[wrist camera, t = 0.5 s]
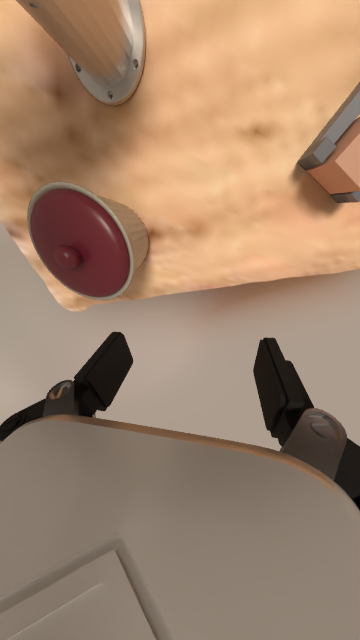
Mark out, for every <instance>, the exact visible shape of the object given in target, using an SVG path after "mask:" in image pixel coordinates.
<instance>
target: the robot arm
mask: <svg viewBox="0 0 360 640" xmlns="http://www.w3.org/2000/svg"><path fill="white" fill-rule="evenodd" d="M16 1H17V2H18V3H19V4H20V5H21V6H22V7H23V8H24V9H25V10H26V11H27V12H28V13H29V14H30V15H31V16H32V17H33V18H34V19H35V21H36V22H37V23H38V24H39V25H40V26H41V27H42V28H43V29H44V30H45V31H46V32H47V33H48V34H49V35H50V36H51V37H52V38H53V39H54V40H55V41H56V42H57V43H58V44H59V45H60V46H61V47H62V48H63V50H64V51H65V52H66V53H67V54H68V56H69V59H70V61H71V64H72V66H73V69H74V71H75V73H76V74H77V76H78V78H79V80H80V81H81V83H82V84H83V85H84V87H85V88H86V89H87V90H88V91H89V92H90V93H91V94H92V95H93V96H94V97H95V98H96V99H97V100H99V101H100V102H102V103H104V104H107V105H112V106H113V105H119V104H122V103H124V102H125V101H127V100H128V99H129V98H130V97H131V96H132V94H133V93H134V91H135V90H136V88H137V86H138V83H139V81H140V78H141V75H142V71H143V66H144V60H145V48H146V36H145V23H144V16H143V10H142V6H141V2H140V0H16ZM137 66H138V68H137V69H136V67H137ZM112 96H113V98H112ZM132 364H133V358H132V355H131V353H130V350H129V347H128V345H127V342H126V339H125V337H124V335H123V334H122V333H121V332H112V333H111V334H110V335H109V336H108V338H107V339H106V340H105V341H104V342H103V344H102V345H101V346H100V347H99V348H98V349H97V351H96V352H95V353H94V354H93V355H92V357H91V358H90V359H89V360H88V362H86V364H85V365H84V366H83V367H82V369H81V370H80V371H79V372H78V373H77V374H76V375H75V377H74V379H75V380H74V381H72V380H65V381H61V382H59V383H58V384H56V385H55V386H54V387H52V388H51V389H50V390H49V392H48V393H47V396H46V399H43V400H41V401H39V402H37V403H35V404H33V405H31V406H29V407H27V408H25V409H24V410H22V411H19V412H18V413H15V414H14V415H12V416H11V417H9V418H8V419H7V420H5V421H4V422H3V424H1V426H0V640H360V447H359V446H358V445H356V444H355V443H354V442H352V441H351V440H349V439H348V438H347V434H346V431H345V429H344V427H343V426H342V425H341V423H340V422H339V421H338V420H337V419H336V418H335V417H333V416H332V415H331V414H329V413H327V412H325V411H323V410H320V409H317V408H314V406H313V404H312V402H311V400H310V398H309V396H308V394H307V392H306V390H305V388H304V386H303V384H302V382H301V380H300V378H299V376H298V374H297V372H296V370H295V368H294V366H293V364H292V363H291V362H290V361H286V360H285V359H284V356H283V354H282V352H281V350H280V348H279V346H278V343H277V341H276V339H275V338H264V339H263V340H260V343H259V348H258V351H257V356H256V360H255V364H254V370H253V371H254V377H255V381H256V386H257V390H258V394H259V399H260V403H261V407H262V412H263V416H264V420H265V425H266V428H267V430H269V431H270V432H271V436H272V437H274V438H278V441H279V444H280V445H281V446H282V448H281V449H280V451H275V450H273V449H269V448H264V447H260V446H256V445H251V444H246V443H240V442H235V441H230V440H224V439H219V438H213V437H207V436H201V435H195V434H190V433H184V432H178V431H172V430H166V429H160V428H154V427H148V426H142V425H136V424H130V423H124V422H118V421H111V420H105V419H99V418H96V416H95V412H96V410H100V411H106V409H107V407H108V406H110V405H111V403H112V401H113V399H114V397H115V395H116V393H117V392H118V390H119V388H120V386H121V384H122V382H123V381H124V379H125V377H126V375H127V373H128V371H129V369H130V368H131V365H132Z"/></svg>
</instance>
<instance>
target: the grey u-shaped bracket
mask: <svg viewBox="0 0 360 640" xmlns="http://www.w3.org/2000/svg"><path fill="white" fill-rule="evenodd" d="M359 114H360V83H359V84H358V85H357V86H356V88H355V89H354V90H353V92H352V93H351V94H350V95H349V97H348V98H347V99H346V100H345V102H344V103H343V104H342V106H341V107H340V108H339V109H338V111H337V112H336V113H335V115H334V116H333V117H332V118H331V120H330V121H329V122H328V123H327V125H326V126H325V127H324V129H323V130H322V131H321V132H320V134H319V135H318V136H317V137H316V139H315V140H314V141H313V143H312V144H311V145H310V146H309V148H308V149H307V150H306V151H305V153H304V154H303V155H302V157H301V158H300V159H299V160H298V163H299V164H300V165H301V166H302V167H303V168H304V169H305V170H306V169H309V168H311V167H314V166H316V165H319V164H322V163H323V162H324V160H325V159H326V158H327V157H328V156H329V155H330V153H331V152H332V151H333V150H334V149H335V148H336V145H335V144H334V143H335V142H336V141H337V140H338V139H339V137H340V136H341V135H342V134H343V133H344V131H345V130H346V129H347V128H348V127H349V126H350V124H351V123H352V122H353V121H354V120H355V118H356V117H357V116H358V115H359ZM331 197H332V198H333V199H334V200H335V201H336V202H337V203H347V202H360V191H355V192H345V193H336V194H332V195H331Z"/></svg>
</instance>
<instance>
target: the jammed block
mask: <svg viewBox="0 0 360 640" xmlns="http://www.w3.org/2000/svg"><path fill="white" fill-rule="evenodd" d="M334 144H335V145H336V148H335V149H334V150H333V151H332V152H331V153H330V155H329V156H328V157H327V158H326V159H325V160H324V162H323V163H322V164H319V165H316V166H314V167H311V168H310V169H309V170H308V172H309V173H310V174H311V176H312V177H313V178H314V179H315V180H316V181H317V182H318V183H319V184H320V185H321V186H322V187H323V188H324V189H325V190H326V191H327V192H328V193H329V194H336V193H345V192H355V191H360V117H359V118H358V119H356V120H354V121H353V122H352V123H351V124H350V126H349V127H348V128H347V129H346V130H345V131H344V133H343V134H342V135H341V136H340V137H339V139H338V140H337V141H336V142H335V143H334Z"/></svg>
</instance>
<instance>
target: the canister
mask: <svg viewBox="0 0 360 640" xmlns="http://www.w3.org/2000/svg"><path fill="white" fill-rule="evenodd" d="M27 219H28V228H29V233H30V237H31V240H32V243H33V245H34V247H35V250H36V252H37V254H38V255H39V257H40V259H41V260H42V262H43V263H44V265H45V266H46V267H47V269H48V270H49V271H50V272H51V273H52V275H53V276H54V277H55V278H56V279H57V280H58V281H60V282H61V283H62V284H63V285H64V286H66V287H67V288H69V289H70V290H72V291H73V292H75V293H77V294H79V295H81V296H84V297H86V298H90V299H94V300H109V299H113V298H116V297H118V296H119V295H121V294H122V293H123V292H124V291H125V290H126V289H127V288H128V286H129V284H130V283H131V280H132V277H133V275H134V273H135V272H136V271H137V269H138V268H139V267H140V265H141V264H142V262H143V260H144V259H145V257H146V254H147V251H148V244H149V242H148V239H149V238H148V233H147V231H146V228H145V226H144V223H143V222H142V221H141V219H140V218H139V217H138V215H137V214H136V213H134V211H133V210H131V209H129V208H128V207H127V206H125V205H122V204H120V203H118V202H115V201H112V200H109V199H106V198H102V197H99V196H96V195H95V194H93V193H92V192H90V191H89V190H87V189H85V188H83V187H81V186H79V185H76V184H73V183H68V182H51V183H48V184H45V185H43V186H42V187H40V188H39V189H38V190H37V191H36V192H35V193H34V195H33V197H32V198H31V201H30V203H29V207H28V216H27Z"/></svg>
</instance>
